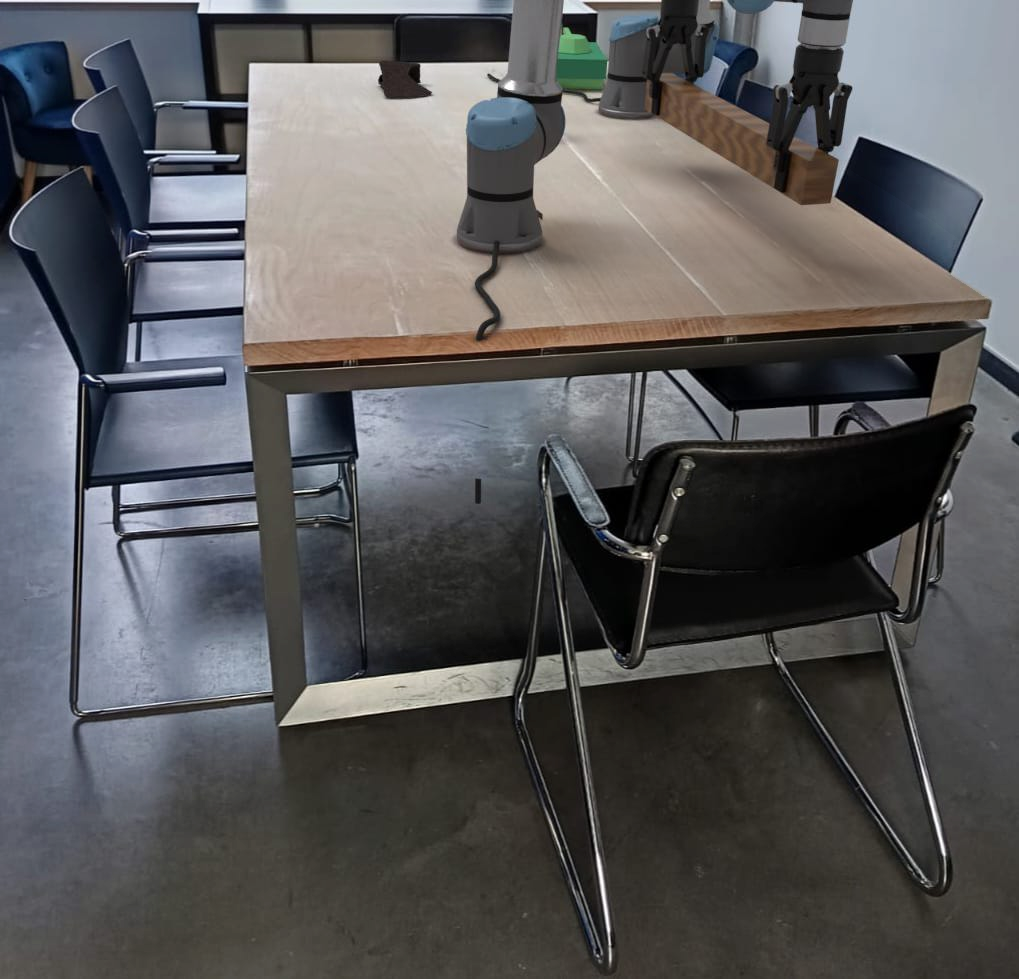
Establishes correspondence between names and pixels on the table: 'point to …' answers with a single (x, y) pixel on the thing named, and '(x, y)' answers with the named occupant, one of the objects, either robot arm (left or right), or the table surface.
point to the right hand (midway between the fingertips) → (668, 113)
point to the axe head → (401, 79)
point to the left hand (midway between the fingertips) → (795, 188)
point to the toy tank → (580, 63)
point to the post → (744, 140)
